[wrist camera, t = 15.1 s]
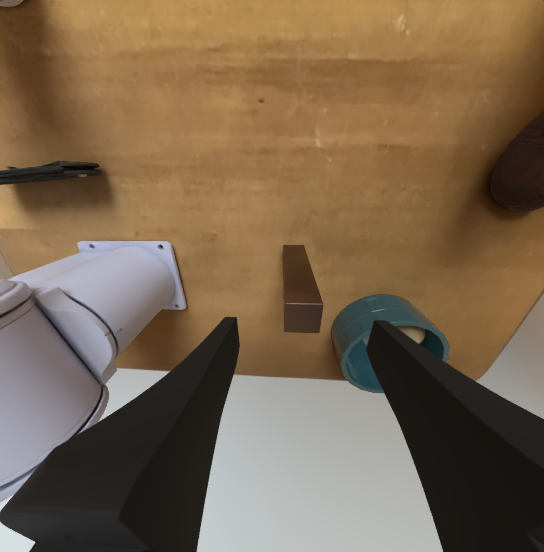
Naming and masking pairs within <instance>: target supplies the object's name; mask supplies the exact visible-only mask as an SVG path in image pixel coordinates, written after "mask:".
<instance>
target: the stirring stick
mask: <svg viewBox="0 0 544 552" xmlns="http://www.w3.org/2000/svg"><path fill="white" fill-rule="evenodd" d="M283 298H284V332H294V333H319V332H320V325H321V318H322V310H323V302H322V299H321V296H320V293H319V290H318V287H317V284H316V281H315V278H314V275H313V272H312V269H311V266H310V263H309V260H308V257H307V254H306V251H305V248H304V245H283Z"/></svg>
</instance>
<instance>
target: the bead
mask: <svg viewBox="0 0 544 552" xmlns="http://www.w3.org/2000/svg"><path fill="white" fill-rule="evenodd" d="M395 327H397V328H398V329H399V330H401V331H402V332H403V333H405V334H406V335H407V336H409V337H410V338H412V339H413V340H414V341H416V342H417V343H418V344H419V343H421V342H422V341H423V339H424V337H425V329H424V328H421V327H417V326H395Z"/></svg>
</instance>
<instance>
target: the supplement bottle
mask: <svg viewBox="0 0 544 552" xmlns="http://www.w3.org/2000/svg"><path fill="white" fill-rule="evenodd" d="M23 1H24V0H0V6H4V7H14V6H16V5H19V4H20V3H21V2H23Z"/></svg>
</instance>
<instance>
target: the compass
mask: <svg viewBox="0 0 544 552" xmlns="http://www.w3.org/2000/svg"><path fill="white" fill-rule="evenodd" d="M490 192H491V194H492V196H493V198H494V199H495V201H496V202H497V204H499V205H500V206H502V207H503V208H505V209H510V210H515V211H530V210H535V209H538V208H541V207H544V112H542V113H541V114H540V115H538V116H537V117H536V118H535V119H534V120H533V121H532V122H531V123H529V124H528V125H527V126H526V127H525V128H524V129H523V130H522V131H521V132H520V133H519V134H518V135H517V136H516V137H515V138H514V139H513V141H512V142H511V143H510V144H509V145H508V147H507V148H506V149H505V151H504V152H503V154H502V155H501V157H500V158H499V160H498V162H497V164H496V166H495V168H494V170H493V173H492V177H491V181H490Z"/></svg>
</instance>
